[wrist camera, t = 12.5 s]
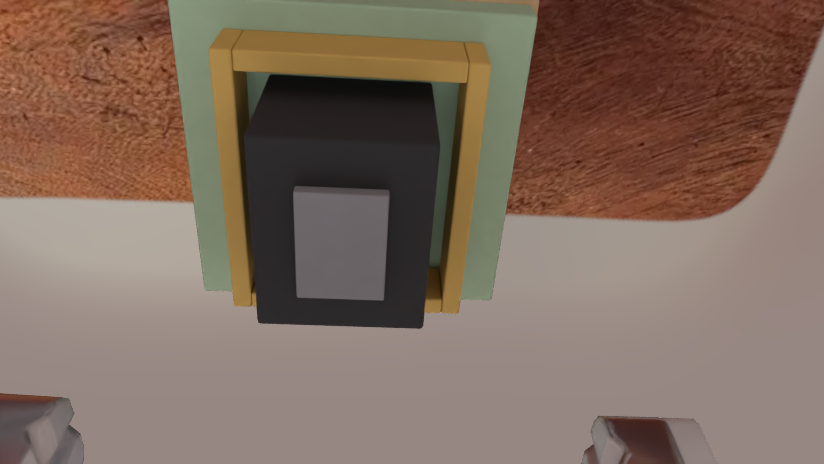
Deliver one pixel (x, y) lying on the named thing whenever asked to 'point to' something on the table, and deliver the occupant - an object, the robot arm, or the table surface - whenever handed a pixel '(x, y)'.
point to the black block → (342, 200)
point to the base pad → (369, 60)
